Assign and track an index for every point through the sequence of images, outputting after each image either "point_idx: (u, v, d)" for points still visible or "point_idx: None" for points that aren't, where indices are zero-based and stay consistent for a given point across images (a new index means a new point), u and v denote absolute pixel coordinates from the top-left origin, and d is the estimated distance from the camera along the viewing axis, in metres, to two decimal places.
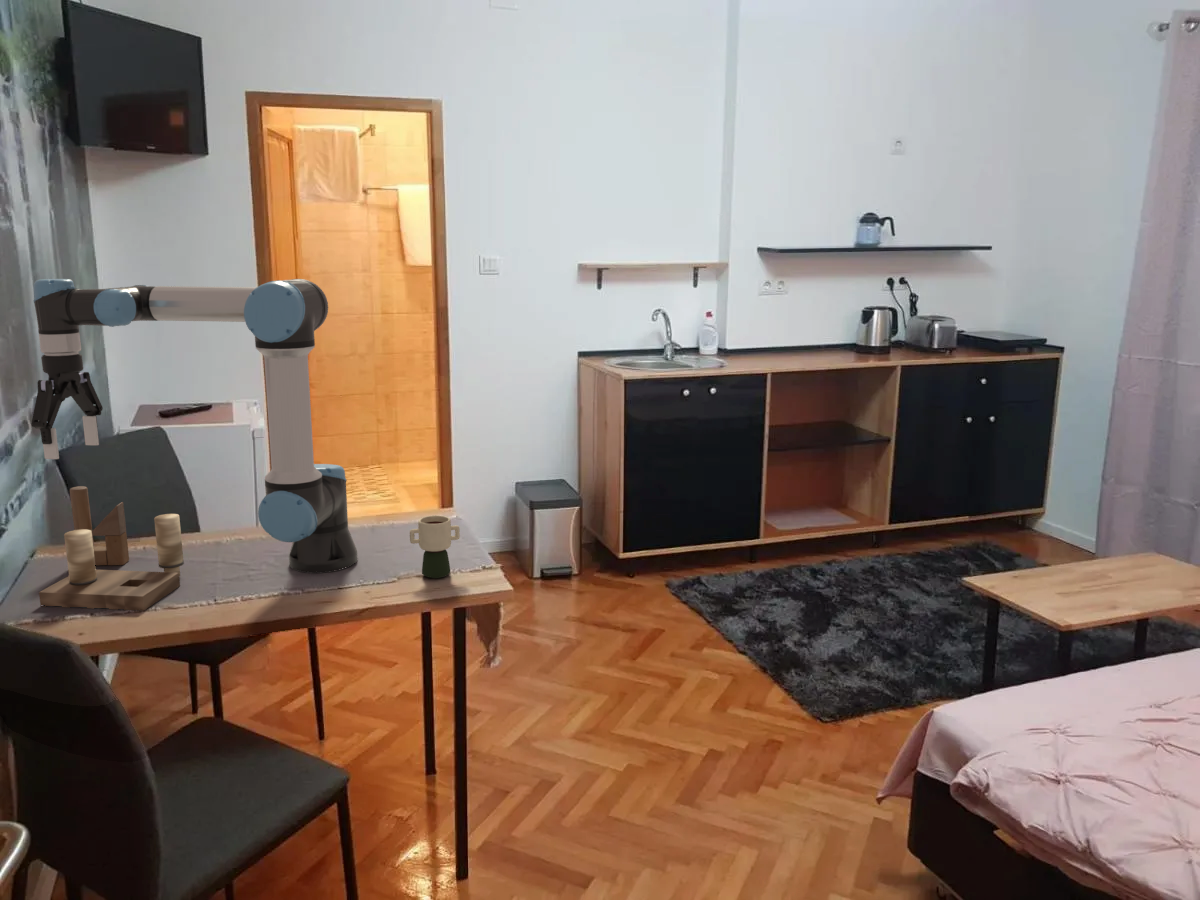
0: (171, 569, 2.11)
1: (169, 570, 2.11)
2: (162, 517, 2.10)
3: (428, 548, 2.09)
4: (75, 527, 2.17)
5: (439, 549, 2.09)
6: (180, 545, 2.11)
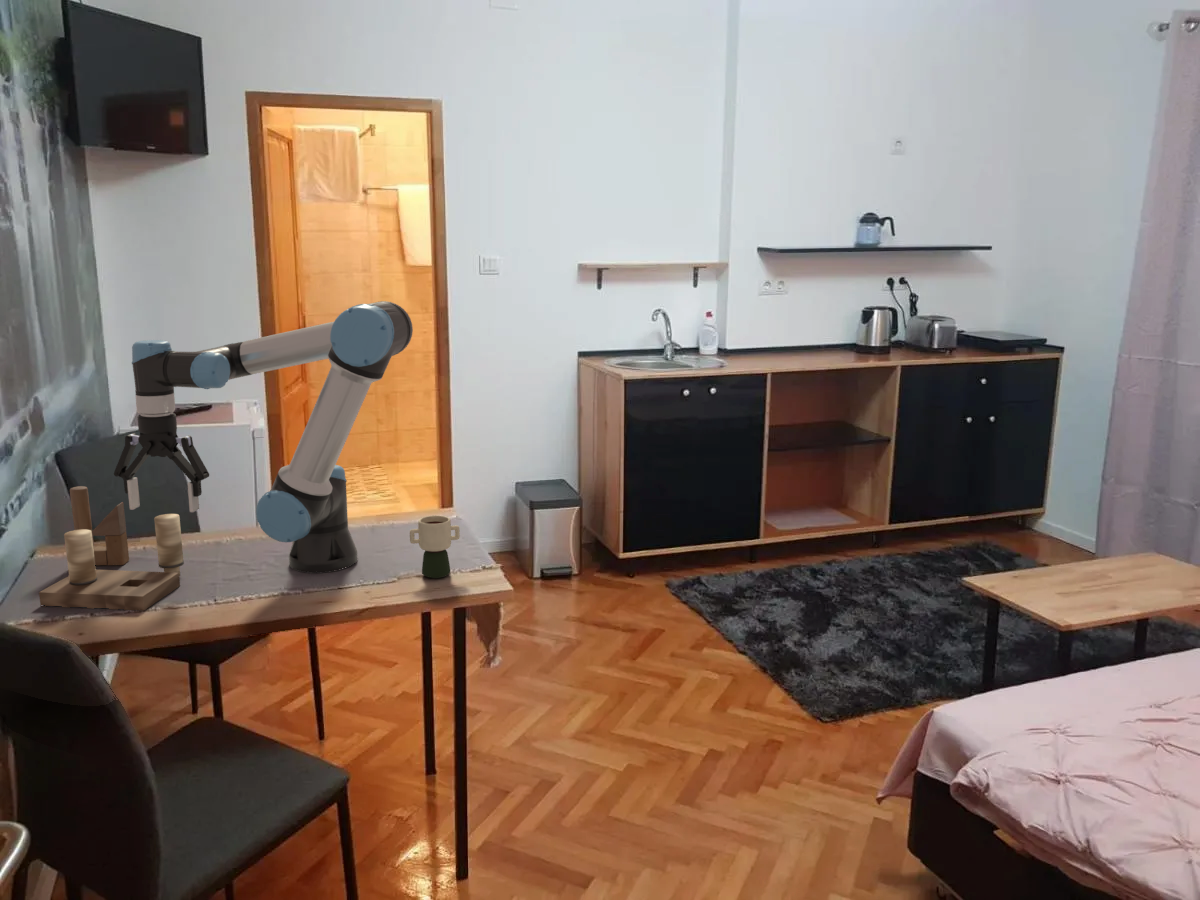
0: (171, 569, 2.11)
1: (169, 570, 2.11)
2: (162, 517, 2.10)
3: (428, 548, 2.09)
4: (75, 527, 2.17)
5: (439, 549, 2.09)
6: (180, 545, 2.11)
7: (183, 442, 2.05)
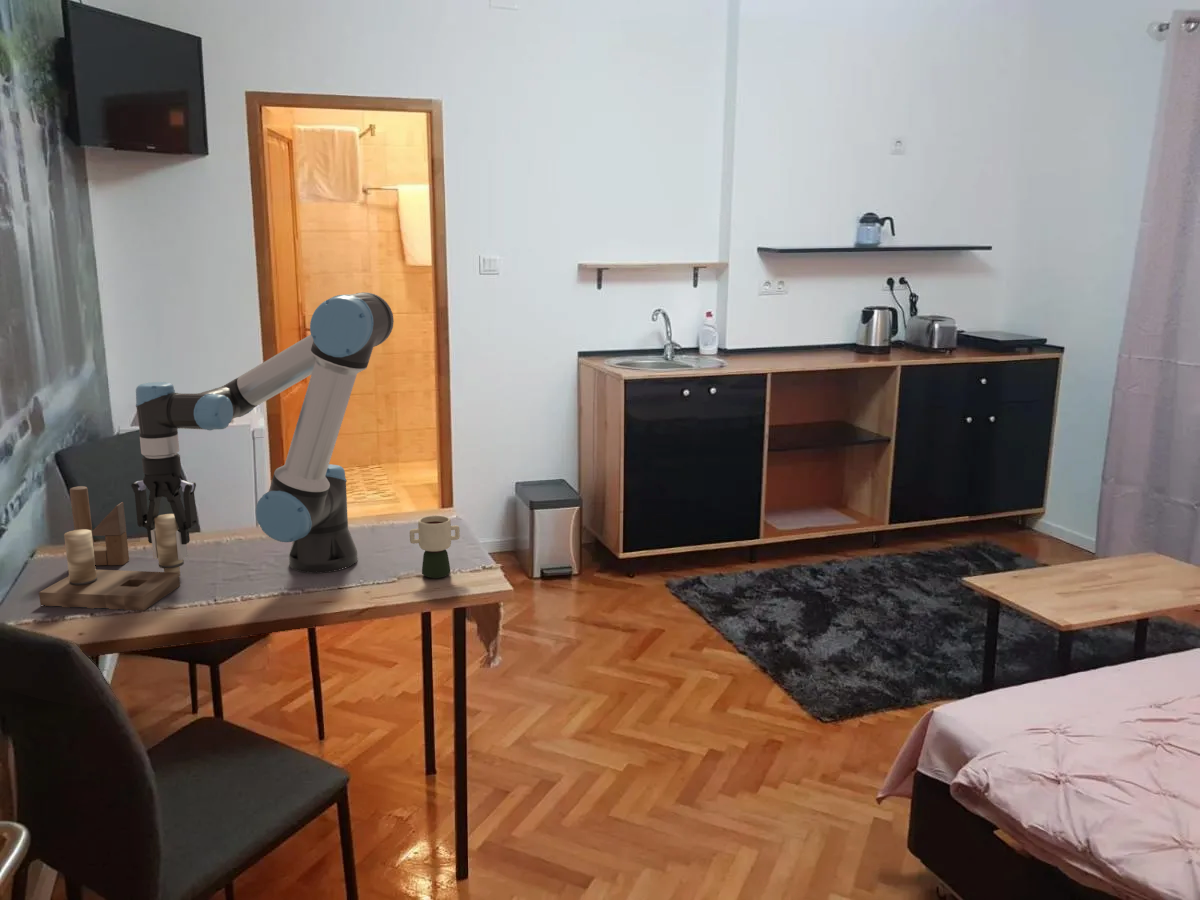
0: (171, 569, 2.11)
1: (169, 570, 2.11)
2: (162, 517, 2.10)
3: (428, 548, 2.09)
4: (75, 527, 2.17)
5: (439, 549, 2.09)
6: None
7: (186, 489, 2.07)
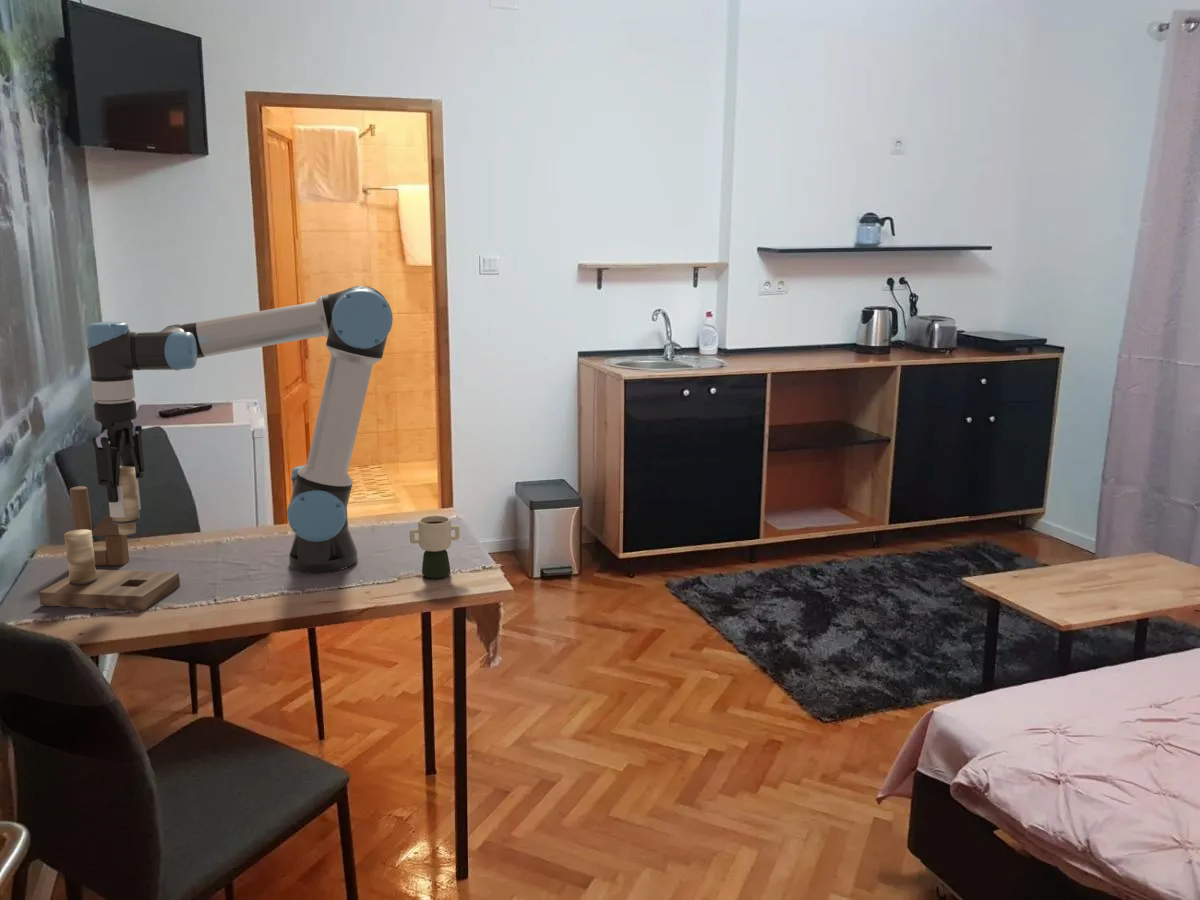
0: None
1: (134, 524, 1.97)
2: (121, 469, 1.94)
3: (428, 548, 2.09)
4: (75, 527, 2.17)
5: (439, 549, 2.09)
6: None
7: (139, 430, 1.98)
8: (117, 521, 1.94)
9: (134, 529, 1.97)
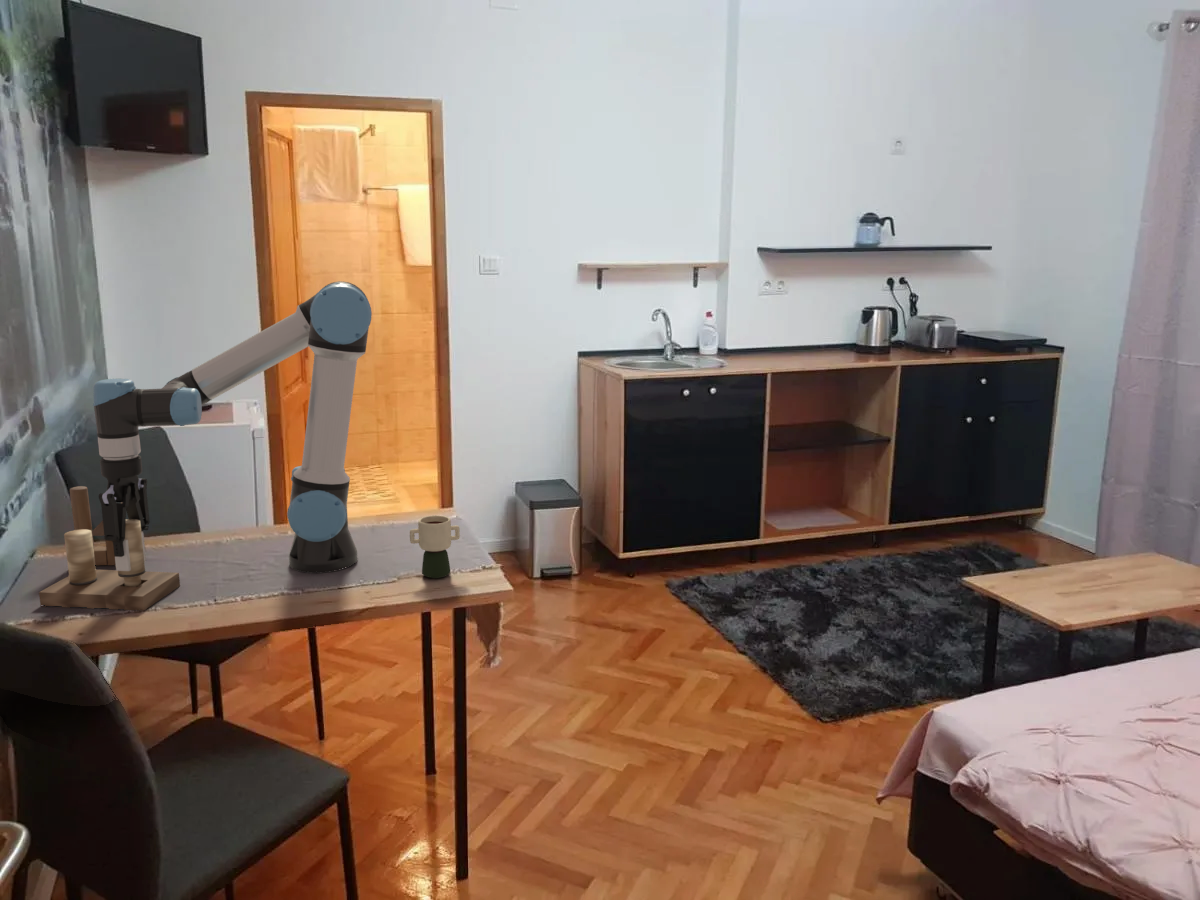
0: (140, 575, 2.00)
1: (140, 576, 2.00)
2: (127, 523, 1.96)
3: (428, 548, 2.09)
4: (75, 527, 2.17)
5: (439, 549, 2.09)
6: None
7: (145, 483, 2.01)
8: (123, 574, 1.97)
9: (139, 581, 1.99)
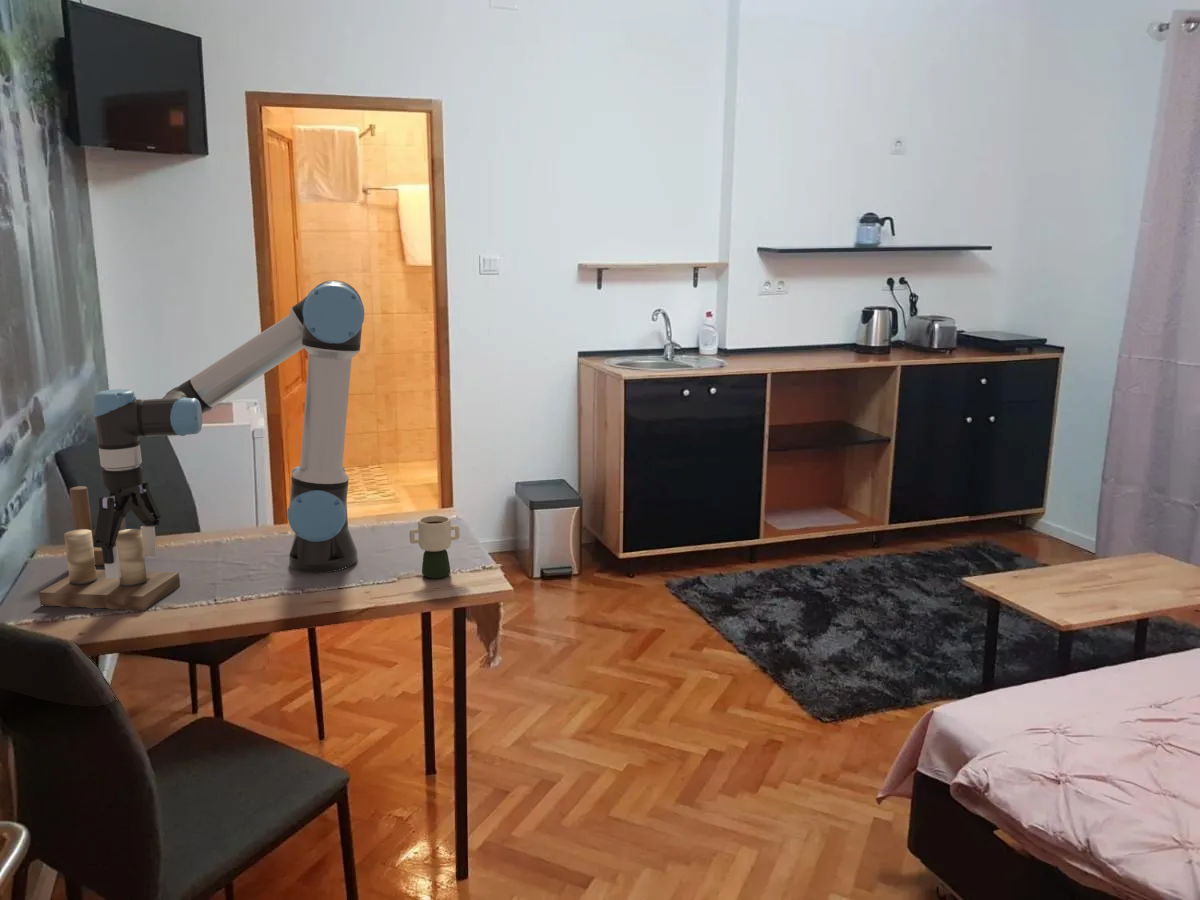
0: None
1: None
2: (128, 533, 1.97)
3: (428, 548, 2.09)
4: (75, 527, 2.17)
5: (439, 549, 2.09)
6: None
7: (146, 486, 2.01)
8: (124, 584, 1.97)
9: None
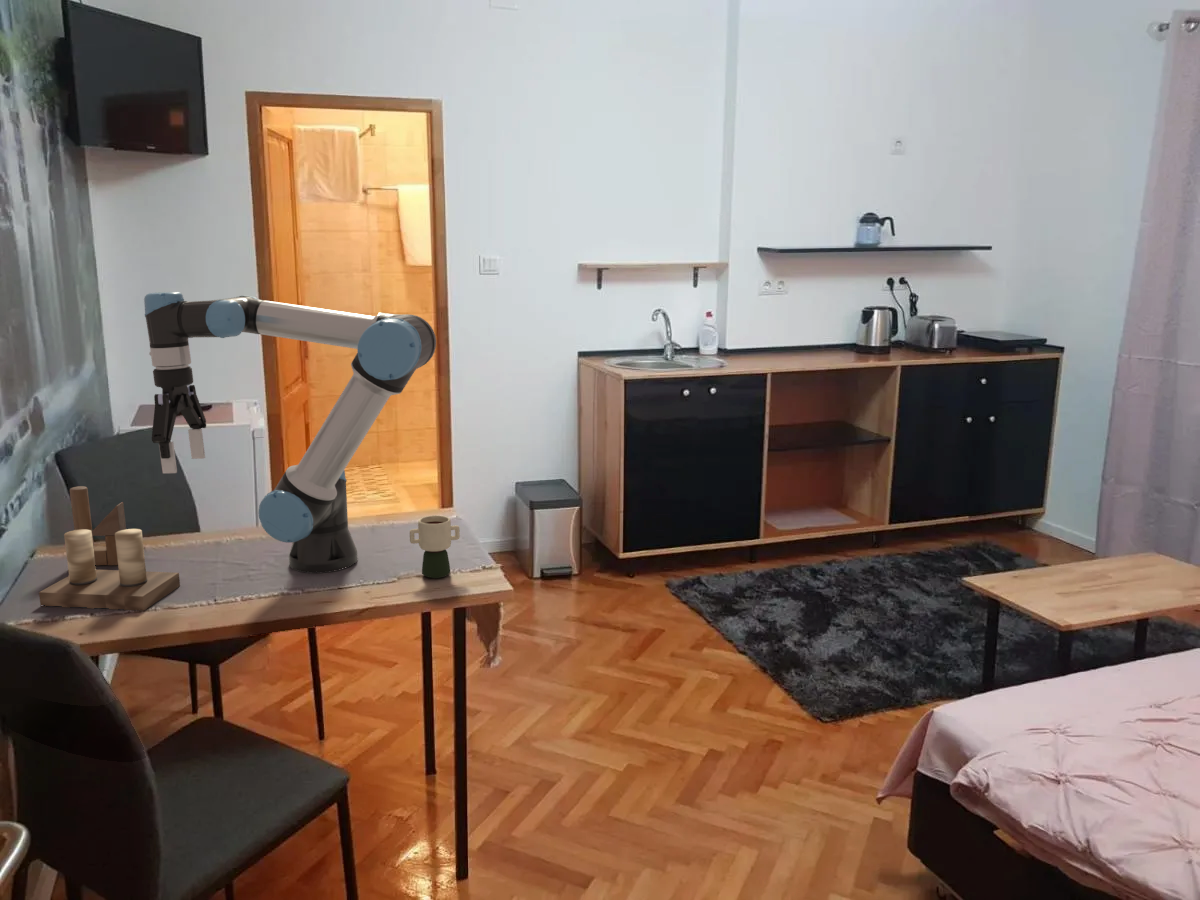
0: None
1: None
2: (128, 533, 1.97)
3: (428, 548, 2.09)
4: (75, 527, 2.17)
5: (439, 549, 2.09)
6: None
7: (194, 389, 2.09)
8: (124, 584, 1.97)
9: None
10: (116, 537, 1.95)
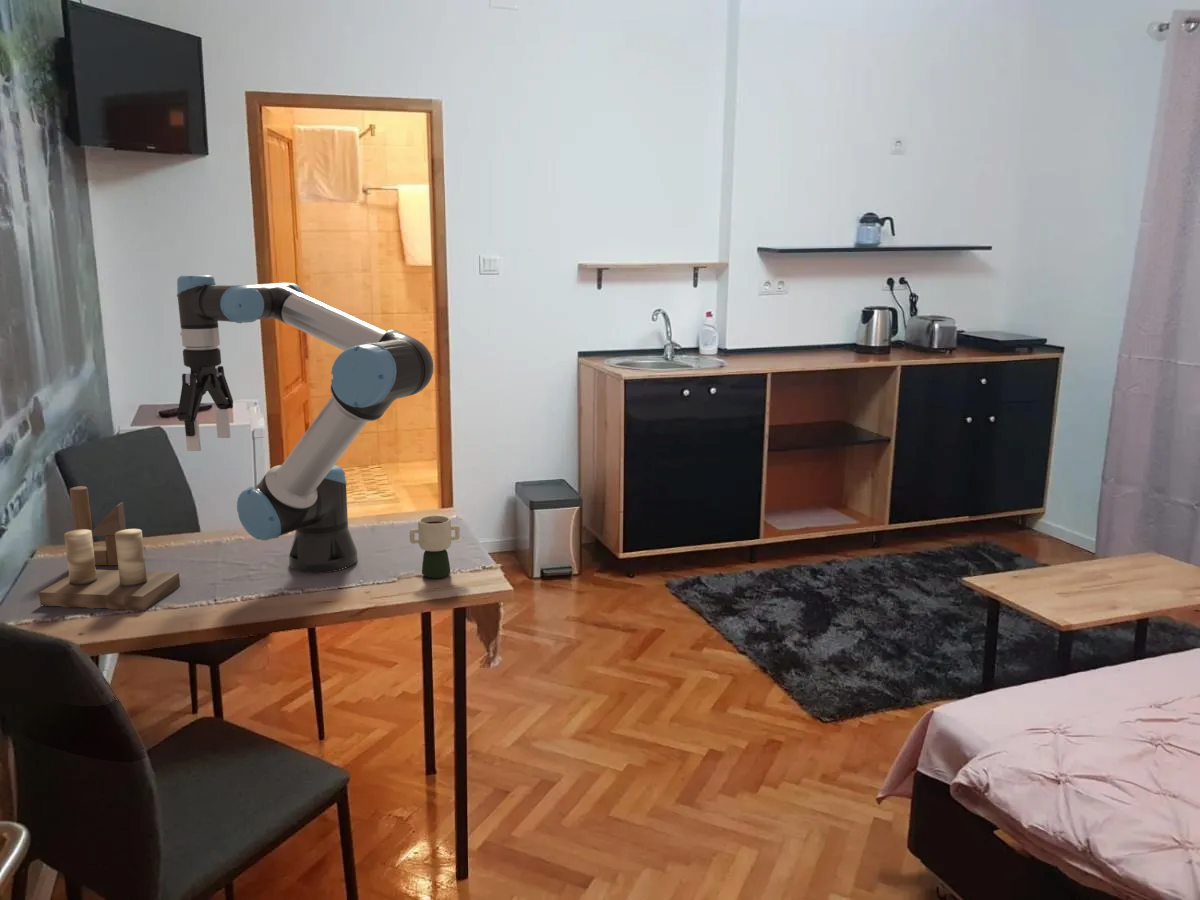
0: None
1: None
2: (128, 533, 1.97)
3: (428, 548, 2.09)
4: (75, 527, 2.17)
5: (439, 549, 2.09)
6: None
7: (222, 370, 2.14)
8: (124, 584, 1.97)
9: None
10: (116, 537, 1.95)
